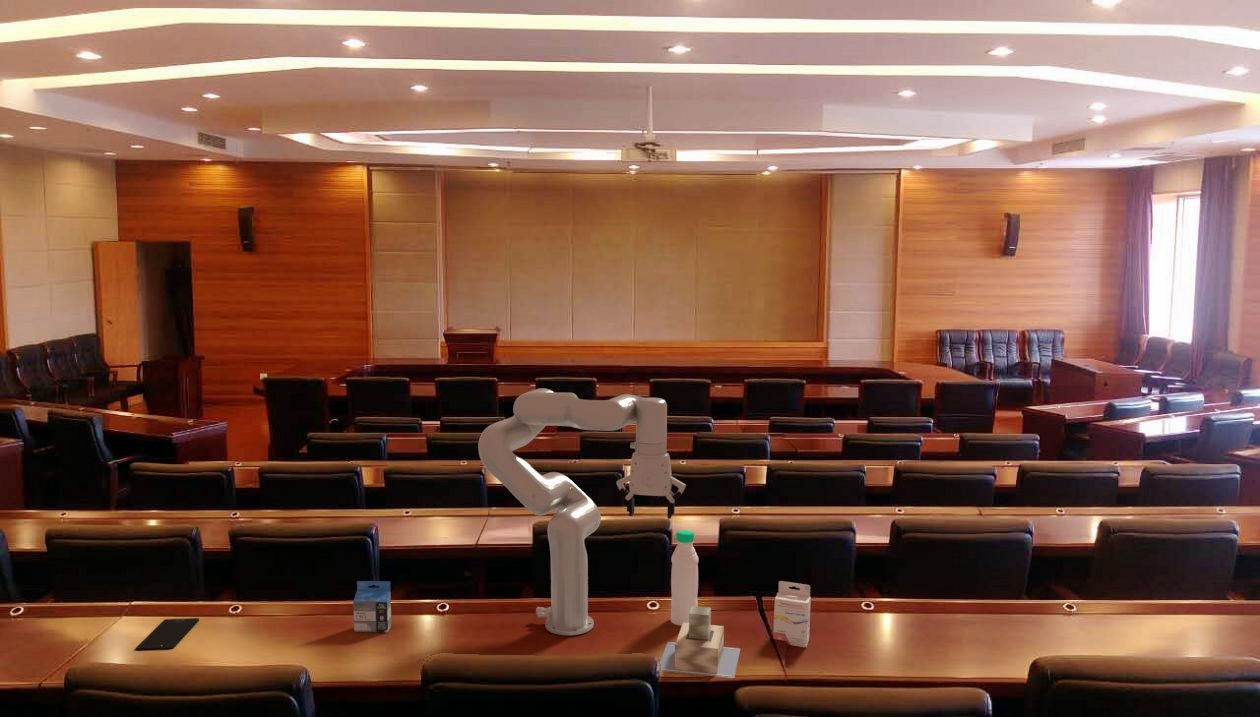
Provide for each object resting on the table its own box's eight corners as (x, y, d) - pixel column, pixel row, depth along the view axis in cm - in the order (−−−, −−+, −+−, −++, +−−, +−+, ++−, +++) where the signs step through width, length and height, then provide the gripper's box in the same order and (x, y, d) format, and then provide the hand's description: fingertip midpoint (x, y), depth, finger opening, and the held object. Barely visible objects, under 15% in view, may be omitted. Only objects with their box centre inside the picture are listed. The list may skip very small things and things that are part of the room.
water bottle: (695, 630, 240) (697, 536, 237) (668, 628, 241) (669, 535, 238) (699, 619, 247) (700, 528, 244) (672, 617, 248) (673, 526, 245)
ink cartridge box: (772, 643, 233) (773, 586, 231) (776, 635, 237) (777, 580, 235) (806, 648, 230) (808, 591, 228) (809, 640, 234) (811, 584, 233)
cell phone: (199, 621, 245) (199, 617, 245) (172, 651, 227) (172, 647, 227) (165, 622, 244) (164, 619, 244) (135, 652, 226) (134, 648, 226)
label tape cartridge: (353, 632, 237) (351, 586, 236) (357, 626, 241) (356, 580, 240) (388, 633, 237) (386, 586, 236) (391, 626, 241) (390, 581, 240)
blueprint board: (656, 674, 215) (656, 670, 215) (667, 645, 231) (667, 641, 231) (734, 682, 212) (734, 677, 212) (740, 652, 227) (740, 648, 227)
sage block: (688, 637, 219) (689, 613, 218) (691, 630, 223) (691, 606, 222) (708, 639, 218) (708, 615, 217) (710, 631, 222) (710, 607, 221)
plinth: (674, 669, 216) (674, 644, 215) (682, 645, 228) (683, 622, 228) (717, 673, 214) (717, 648, 213) (723, 649, 226) (723, 625, 226)
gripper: (613, 449, 226) (613, 518, 228) (683, 453, 222) (682, 522, 224) (620, 443, 233) (619, 509, 235) (688, 446, 230) (687, 513, 232)
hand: (650, 515), depth 230 cm, fingers open, 9 cm apart
